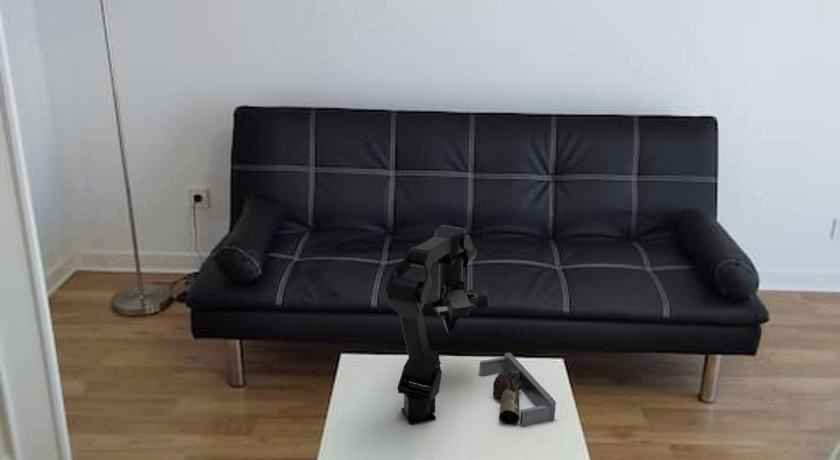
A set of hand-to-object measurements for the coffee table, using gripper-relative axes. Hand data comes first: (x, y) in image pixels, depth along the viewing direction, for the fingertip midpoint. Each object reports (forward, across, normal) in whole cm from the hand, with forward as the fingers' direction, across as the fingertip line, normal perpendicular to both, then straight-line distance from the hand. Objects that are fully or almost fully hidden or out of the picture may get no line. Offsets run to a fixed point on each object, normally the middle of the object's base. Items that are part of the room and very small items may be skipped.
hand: (449, 332), depth 195 cm
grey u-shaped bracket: (+13, +13, -13) cm, 22 cm away
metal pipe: (+14, +10, -15) cm, 22 cm away
